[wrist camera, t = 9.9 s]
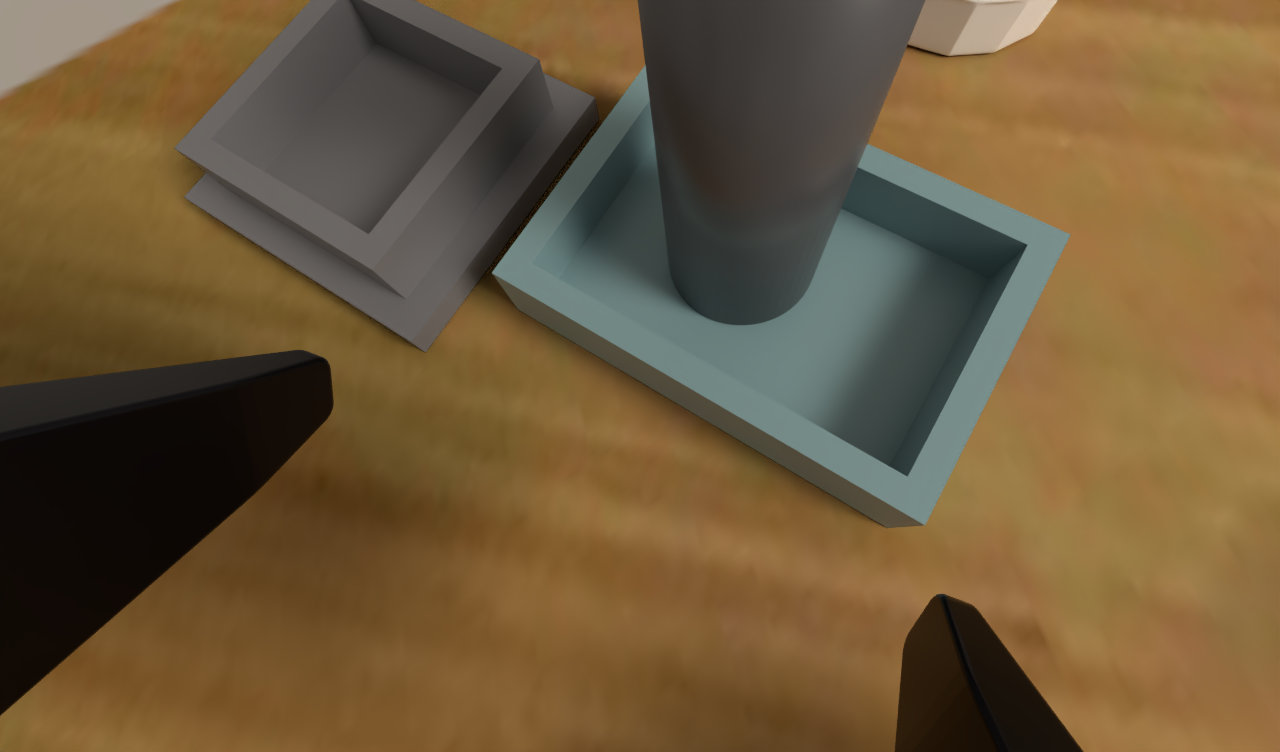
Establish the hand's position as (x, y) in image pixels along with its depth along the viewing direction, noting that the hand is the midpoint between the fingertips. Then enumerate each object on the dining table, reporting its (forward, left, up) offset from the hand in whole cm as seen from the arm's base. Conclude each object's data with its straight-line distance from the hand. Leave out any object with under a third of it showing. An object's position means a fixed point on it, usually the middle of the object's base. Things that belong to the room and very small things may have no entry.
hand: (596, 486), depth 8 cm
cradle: (+6, +13, -9) cm, 17 cm away
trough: (+8, 0, -9) cm, 12 cm away
